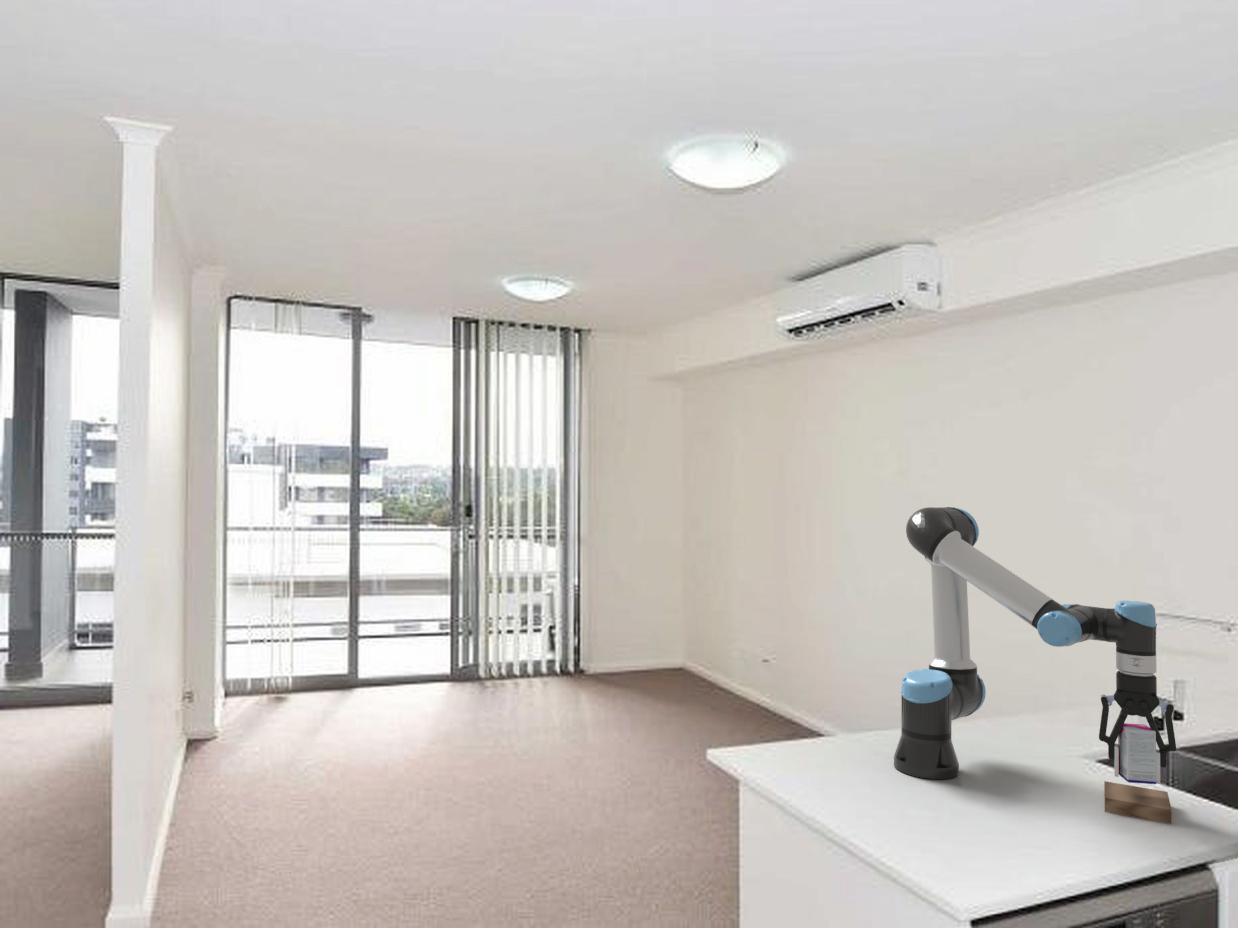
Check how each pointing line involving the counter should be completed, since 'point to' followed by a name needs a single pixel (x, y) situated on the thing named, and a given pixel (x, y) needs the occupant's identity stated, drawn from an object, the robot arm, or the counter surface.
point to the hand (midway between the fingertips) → (1136, 777)
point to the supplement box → (1137, 754)
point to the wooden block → (1137, 802)
